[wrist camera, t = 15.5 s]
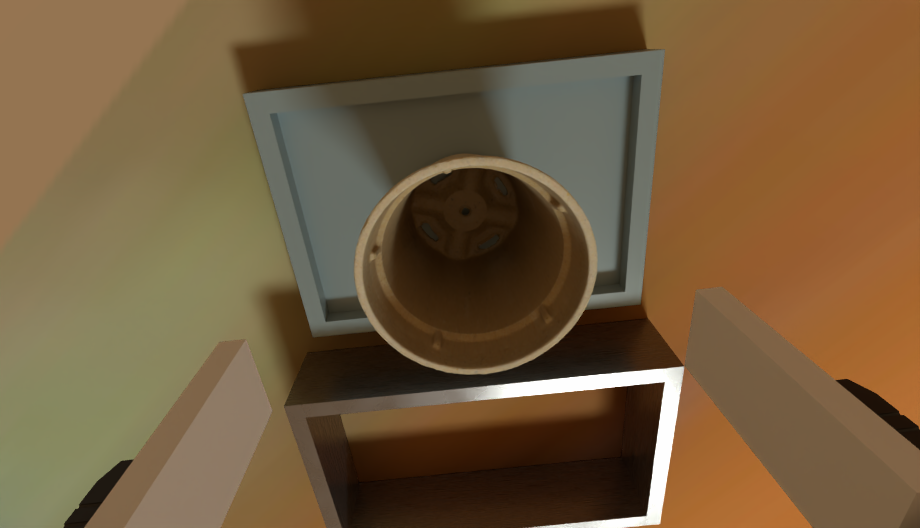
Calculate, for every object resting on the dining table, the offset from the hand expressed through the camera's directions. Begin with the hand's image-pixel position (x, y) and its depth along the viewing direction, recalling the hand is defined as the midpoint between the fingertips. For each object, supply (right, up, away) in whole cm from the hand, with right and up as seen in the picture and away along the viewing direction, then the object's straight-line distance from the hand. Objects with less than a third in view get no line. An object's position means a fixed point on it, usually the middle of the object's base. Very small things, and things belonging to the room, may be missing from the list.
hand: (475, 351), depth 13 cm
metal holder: (+1, -8, +20) cm, 22 cm away
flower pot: (0, +6, +12) cm, 13 cm away
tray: (0, +6, +13) cm, 14 cm away
